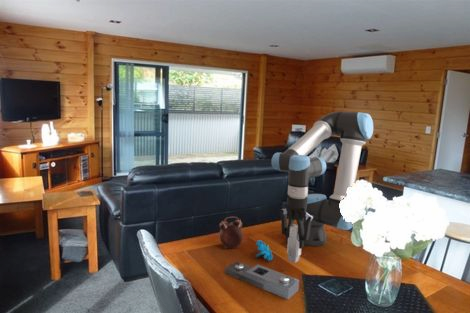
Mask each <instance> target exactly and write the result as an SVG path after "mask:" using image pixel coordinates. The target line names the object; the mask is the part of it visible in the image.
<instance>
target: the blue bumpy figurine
mask: <svg viewBox="0 0 470 313" xmlns="http://www.w3.org/2000/svg"><path fill="white" fill-rule="evenodd" d="M255 244H256V246H257V247H256V248H257V250H258V251H259V252H258V253H257V254H256V255H255V257H256V258H258V257H260V256H262V255H264V256H263V258H264V259H265V260H267V261H268V262H270V261H272V260H273V257H274V255H273V253H272V252H273V251H272V250H270V245H269V244H266V242H264V241H262V240H261V239H258V240H257V241H256V243H255Z"/></svg>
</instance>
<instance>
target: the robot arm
mask: <svg viewBox="0 0 470 313" xmlns="http://www.w3.org/2000/svg"><path fill="white" fill-rule="evenodd" d="M373 133H374V121H373V117H372V115H370V114H369V113H367V112H366V113H365V112H359V111H358V112H355V111H339V110H338V111H333V112H331V113H328V114H326V115H323V116H322V117H321V118H318V119H317V120H316V121H315V122H314V123H313V125H312V127H311V128H310V129H309V130H308V131H307V132H305V133H304V135H302V136H301V137H299V139H298V140H297V141H295V142H294V143H293V144H292V145H291V146H289V147H288V148H287V149H286V150H285V151H284V152H275V153H274V154H273V155H272V157H271V166H272V168H273V169H274V170H276V171H279V172H286V173H288V182H287V197H286V205H287V206H286V207H284V208H281V209H280V210H279V213H280V216H281V219H280V222H281V223H280V224H281V235H284V236H285V244H286V245H287V246H286V247H287V248H286V253H287V254H288V252H289V234H290V226H292V225H293V224H295V221H296V225H298V235H299V240H297V249H296V257H298V256H299V257H300V256H301V255H302V249H304V245H305V246H311V247H321V246H323V245H326V243H327V234H326V229H325V225H326V226H329V227H333V228H336V229H338V230H342V231H348V230H350V229H352V228H353V227H354V225H352V223H348V222H345V221H344V220H343V217H342V215H341V213H340V209H339V203H340V201H341V200H342V199H343V198H344V197H345V196H346V189H347V188H348V187H351V186H352V184H353V183H354V182H355V183H356V181H357V175H358V171H359V170H358V168H359V165H360V164H359V163H360V158H361V152H362V147H363V146H364V145H366V143H367V140H370V139H371V138H372V137H373ZM333 136H336V137H339V139H340V142H341V143H342V145H341V150H340V157H339V162H338V167H337V173H336V178H335V184H334V189H333V193H332V194H331V195H330V196H329V197H328V198H329V199H327V195H325V194H322V193H309V182H310V181H309V179H312V178H315V177H319V176H321V175H324V173H325V172H326V170H327V163H326V161H325V159H324V158H322V157H320V156H313V157H310V156H308V155H309V154H310V153H311V152H312V151H313V150H314V149H315V148H316V147H317V146H318V145H319V144H321V143H322V142H323V141H324V140H326V139H329V138H330V137H333Z"/></svg>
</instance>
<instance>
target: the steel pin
mask: <svg viewBox="0 0 470 313" xmlns="http://www.w3.org/2000/svg"><path fill="white" fill-rule="evenodd" d="M297 240H299V235H298V224H296V223H294V224H293V225H292V226H290V234H289V252H288V256H287V261H289V262H292V263H294V264H295V263H297V262H298V261H300V256H298V257H296V249H297Z"/></svg>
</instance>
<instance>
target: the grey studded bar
mask: <svg viewBox="0 0 470 313" xmlns="http://www.w3.org/2000/svg"><path fill="white" fill-rule="evenodd" d="M224 274H227V275H229V276H231V277H233V278H235V279H238V280H240V281H243V282H245V283H248V284H249V285H253V286H255V287H256V288H259V289H262V290H264V291H266V292H269V293H270V294H271V293H272V294H274V295H276V296H278V297H280V298H283V299H286V300H290V298H291V297H292V296H294V295H295V294H296V293H298V291H299V288H300V286H299V285H300V279H297V278H295V277H292V276H290V275H287V274H284V273H282V272H279V271H276V270H274V269H271V268H269V267H267V266H263V265H260V264H256V265H255V266H251V265H249V264H246V263H243V262H240V261H238V260H237V261H236V262H233V263H231V264H230V265H229V266H227V267H225V268H224Z"/></svg>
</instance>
